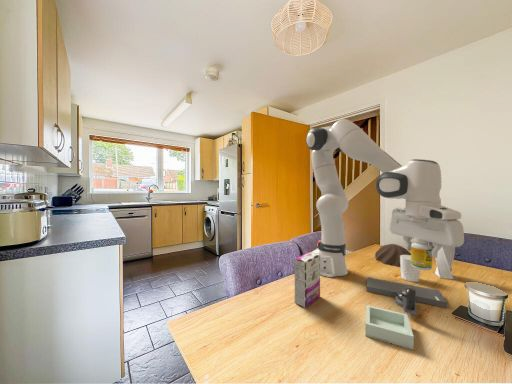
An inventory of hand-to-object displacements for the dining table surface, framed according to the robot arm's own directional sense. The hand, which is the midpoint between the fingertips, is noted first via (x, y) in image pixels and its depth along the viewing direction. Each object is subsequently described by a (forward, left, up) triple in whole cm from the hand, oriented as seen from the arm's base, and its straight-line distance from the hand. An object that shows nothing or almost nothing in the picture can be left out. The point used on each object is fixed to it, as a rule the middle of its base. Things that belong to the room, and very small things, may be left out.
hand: (421, 253), depth 68 cm
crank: (-3, +4, -19) cm, 20 cm away
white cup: (+2, +35, -21) cm, 41 cm away
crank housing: (-3, +14, -21) cm, 25 cm away
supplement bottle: (0, 0, -5) cm, 5 cm away
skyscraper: (+17, +46, -22) cm, 54 cm away
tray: (-10, -12, -21) cm, 26 cm away
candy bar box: (-35, -6, -21) cm, 41 cm away
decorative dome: (-2, +61, -22) cm, 64 cm away
